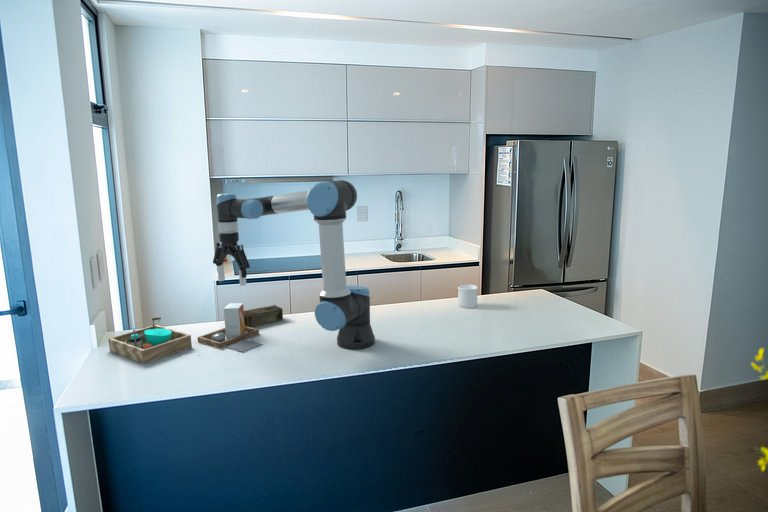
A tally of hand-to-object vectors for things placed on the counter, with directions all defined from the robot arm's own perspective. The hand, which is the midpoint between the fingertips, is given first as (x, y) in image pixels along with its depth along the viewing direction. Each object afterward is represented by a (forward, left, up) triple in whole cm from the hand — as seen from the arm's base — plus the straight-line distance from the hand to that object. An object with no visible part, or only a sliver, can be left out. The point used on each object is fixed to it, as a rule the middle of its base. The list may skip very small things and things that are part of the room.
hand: (232, 282), depth 216 cm
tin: (0, +9, -23) cm, 24 cm away
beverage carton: (+4, -17, -23) cm, 29 cm away
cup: (-63, -90, -23) cm, 112 cm away
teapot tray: (+16, +29, -23) cm, 40 cm away
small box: (0, 0, -23) cm, 23 cm away
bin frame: (0, +4, -23) cm, 23 cm away
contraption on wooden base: (+16, +29, -23) cm, 40 cm away
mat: (-13, +7, -23) cm, 27 cm away
